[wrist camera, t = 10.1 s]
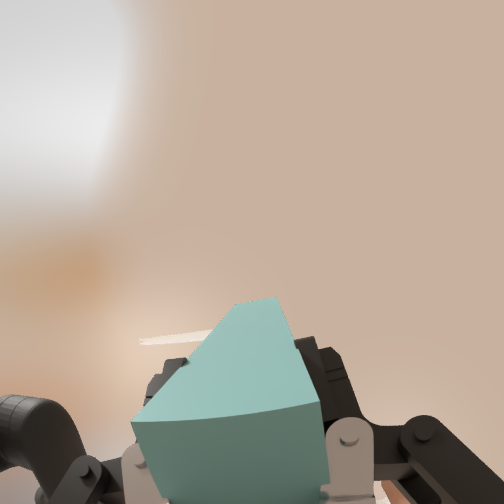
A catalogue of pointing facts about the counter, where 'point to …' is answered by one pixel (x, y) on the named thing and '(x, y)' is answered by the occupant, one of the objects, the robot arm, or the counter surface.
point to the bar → (238, 418)
